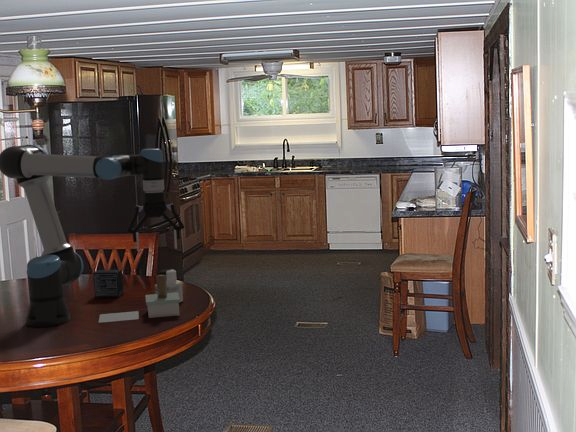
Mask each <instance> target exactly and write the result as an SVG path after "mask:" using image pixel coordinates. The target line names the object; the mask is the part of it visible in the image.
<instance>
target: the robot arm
mask: <svg viewBox="0 0 576 432" xmlns="http://www.w3.org/2000/svg"><path fill="white" fill-rule="evenodd" d="M0 172H1V174H2V175H3V176H5V177H6V178H9V179H16V182H17V185H18V186H19V187H21V188H22V189H24V194H25V196H26V199H27V202H28V205H29V208H30V210H31V211H30V212H31V215H32V217H33V220H34V224H35V226H36V229H37V233H38V236H39V238H40V239H39V240H40V241H41V242H40V243H41V244H42V248H43V251H42V253H41V255H40V256H35V257H33V258H31V259H29V260H28V261H27V263H26V275H27V284H28V285H27V286H28V288H27V289H28V295H29V296H28V297H29V304H28V309H27V312H26V317H25V323H26V325H27V326H28V327H32V328H48V327H54V326H58V325H59V326H60V325H62V324H65V323H68V322H69V321H70V320H71V314H70V311H69V309H68V306H67V305H66V302H65V298H64V290H63V287H65V286H67V285H70V284H73V283H74V282H76V281H77V280H78V279H79V278H80V277H82V274H83V271H84V262H83V259H82V257H81V255H80V254H78V253H77V252H75V250H74V247H73V245H72V244H70V243H69V242H67V239H66V236H65V233H64V229H63V227H62V224H61V221H60V217H59V215H58V212H57V210H56V209H57V208H56V206H55V203H54V199H53V197H52V193H51V190H50V188H49V184H48V181H49V179H50V177H68V178H69V177H72V178H88V179H89V178H90V179H91V178H92V179H102V180H106V181H109V180H114V179H118V178H123V177H128V176H134V177H135V176H142V188H143V189H142V191H143V206H141V205H135V211H134V214H133V216H132V219H131V221H130V223H129V225H128V227H127V232H129V233H132V239H133V242H134V243H136V251H137V252H140V242H139V241H140V240H139V239H140V237H139V232H138V231H139V229H140V228H141V227H142V225H143V224H144V223H145V222H146V220H147V219H148V218H153V219H154V218H160V217H163V218H164V219H165V220H166V221H167V222H168V223H169V224H170V225H171V227H172V228H174V230H173V239H174V240H173V241H174V249H175V250H177V249H178V240H180V238H181V235H180V231H181V230H183V229H185V225H184V223H183V221H182V220H181V218H180V217H179V215H178V213H177V211H176V210H175V205H174V203H170V204H166V195H165V194H166V192H164V190H165V179H164V178H165V177H164V160H163V151H162V150H161V148H143V149H142V150H141V151H140V154H117V155H111V156H95V155H74V154H73V155H71V154H69V155H68V154H51V153H50V154H49V153H47V151H46V150H45V149H44V148H42V147H41V146H39V145H35V144H24V145H15V146H14V145H13V146H9V147H6V148H5V149H3V150H2V151H1V152H0ZM167 209H168V211H171V213H172V214H173V216H174V218H175V221H177V224H178V225H177V224H176V223H175V222H174V221H173V220H172V218H170V217H169V216H168V214H166V213H165V211H166V210H167ZM142 211H143V212H144V213H145V214H144V215H143V216H142V217H141V219H140V220H139V221H138V223H137V224H136V226H135V227H134V224H135V222H136V220H137V218H138V216H139V213H141V212H142Z"/></svg>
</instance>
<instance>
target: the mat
mask: <svg viewBox="0 0 576 432" xmlns="http://www.w3.org/2000/svg"><path fill="white" fill-rule="evenodd" d="M139 315H140V314H139V310H136V311H126V312H125V311H124V312H112V313H111V312H110V313H102V314H99V318H98V323H101V324H102V323H111V322H112V323H113V322H123V321H134V320H139V319H140V317H139Z"/></svg>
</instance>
